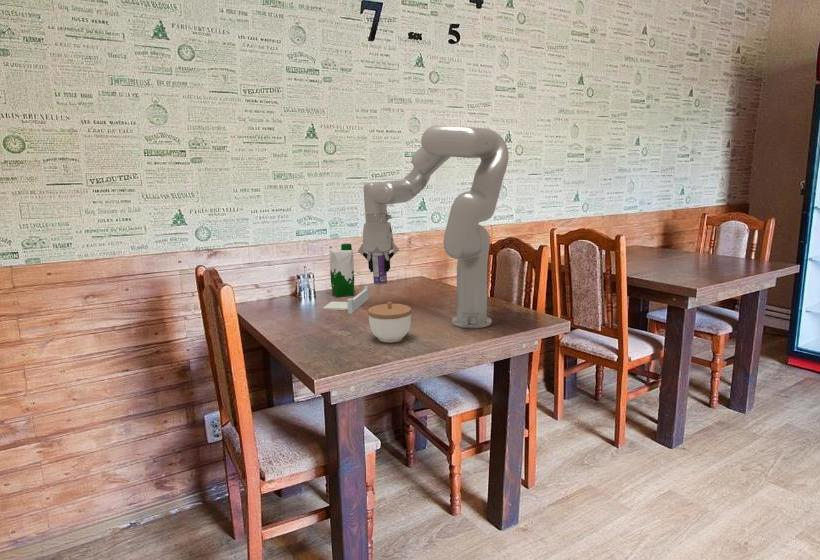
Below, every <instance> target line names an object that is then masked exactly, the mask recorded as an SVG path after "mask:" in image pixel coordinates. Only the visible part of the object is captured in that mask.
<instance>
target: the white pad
mask: <svg viewBox="0 0 820 560" xmlns="http://www.w3.org/2000/svg"><path fill="white" fill-rule="evenodd" d="M322 310H332V311H335V310H336V311H348V304H347V301H330V302H329V303H327V304H326V305H324V306H323V307H322Z"/></svg>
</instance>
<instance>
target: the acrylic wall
mask: <svg viewBox="0 0 820 560" xmlns="http://www.w3.org/2000/svg"><path fill="white" fill-rule="evenodd" d="M369 300H370V286H369V285H364V286H363V290H362V291H360V292H359V293H357V295H354V296H353V298H347V300H346V302H347V304H348V310H347V314H348V315H349V314H354V312H355V311H357V310H358V309H359V308H361V306H362V305H364V304H365V303H366V302H368V301H369Z"/></svg>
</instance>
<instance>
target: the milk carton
mask: <svg viewBox="0 0 820 560" xmlns="http://www.w3.org/2000/svg"><path fill="white" fill-rule="evenodd" d="M354 267H355V265H354V250H353V249H352V243H341V244H340V248H339V247H337V248H331V249H329V272H330V273H329V275H330V284H331V290H332V294H333V296H334V297H335V298H343V297H355V268H354Z"/></svg>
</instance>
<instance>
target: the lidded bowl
mask: <svg viewBox="0 0 820 560" xmlns="http://www.w3.org/2000/svg"><path fill="white" fill-rule="evenodd" d="M367 315H368V324H369V328H370V330H371V333H372V334H373V335H374V337H376V339H378V341H379V342H381V343H387V344H388V343H397V342H401V341H402V340H403V338H405V337H406V335H407V334H408V332H409V330H410V327H411V323H412V308H411V306H409V305H406V304H402V303H392V301H388V302H386V303H383V304H376V305H373V306H370V307H369V308H368V309H367Z"/></svg>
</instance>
